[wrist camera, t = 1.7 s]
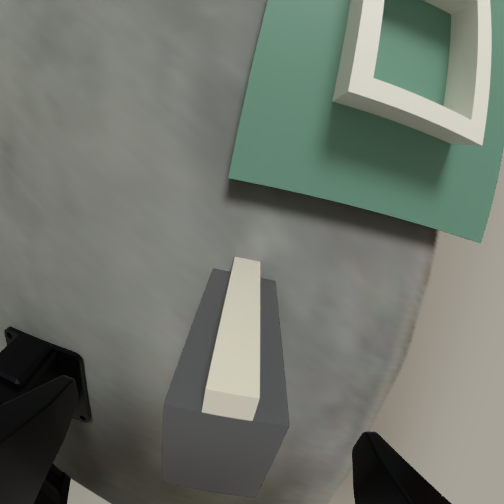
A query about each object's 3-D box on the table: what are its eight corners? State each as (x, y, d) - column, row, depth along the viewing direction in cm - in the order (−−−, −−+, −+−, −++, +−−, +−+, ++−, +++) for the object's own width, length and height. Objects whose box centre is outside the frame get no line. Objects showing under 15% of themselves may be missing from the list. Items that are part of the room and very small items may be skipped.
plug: (257, 348, 17) (255, 497, 8) (201, 337, 17) (161, 481, 8) (278, 265, 15) (299, 403, 7) (215, 252, 15) (165, 379, 7)
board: (470, 238, 14) (509, 259, 11) (230, 176, 14) (220, 184, 11) (498, -6, 10) (530, -21, 6) (294, -90, 9) (299, -127, 6)
